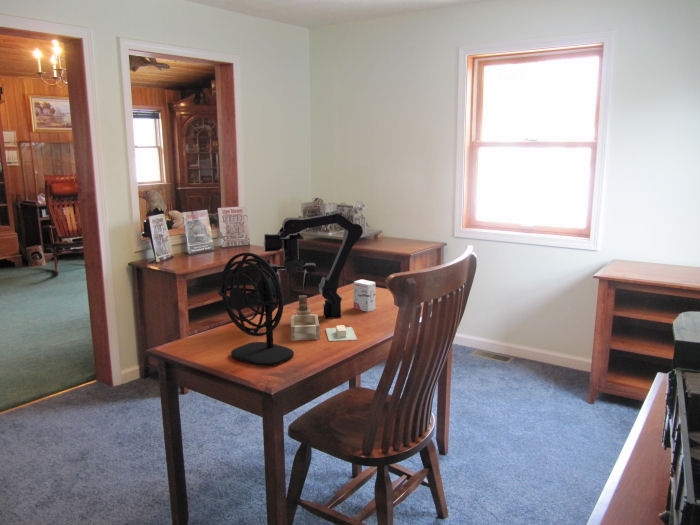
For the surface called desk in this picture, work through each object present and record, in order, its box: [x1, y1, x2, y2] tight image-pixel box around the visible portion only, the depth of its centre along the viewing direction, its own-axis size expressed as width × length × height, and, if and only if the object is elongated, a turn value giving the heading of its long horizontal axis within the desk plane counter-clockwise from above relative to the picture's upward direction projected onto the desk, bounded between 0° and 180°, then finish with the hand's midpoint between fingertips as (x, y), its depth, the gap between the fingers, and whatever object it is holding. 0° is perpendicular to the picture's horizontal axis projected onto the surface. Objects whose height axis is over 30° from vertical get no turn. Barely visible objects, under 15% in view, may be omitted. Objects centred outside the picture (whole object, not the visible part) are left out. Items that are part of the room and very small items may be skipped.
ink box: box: [353, 279, 376, 313], centre depth 234 cm, size 9×5×12 cm, turn 47°
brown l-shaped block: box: [298, 294, 308, 310], centre depth 216 cm, size 3×7×4 cm, turn 7°
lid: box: [325, 324, 358, 342], centre depth 203 cm, size 10×14×4 cm
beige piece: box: [290, 306, 321, 341], centre depth 207 cm, size 10×20×6 cm, turn 7°
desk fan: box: [217, 252, 295, 367], centre depth 179 cm, size 27×18×35 cm, turn 54°
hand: (292, 289), depth 220 cm, fingers open, 9 cm apart
